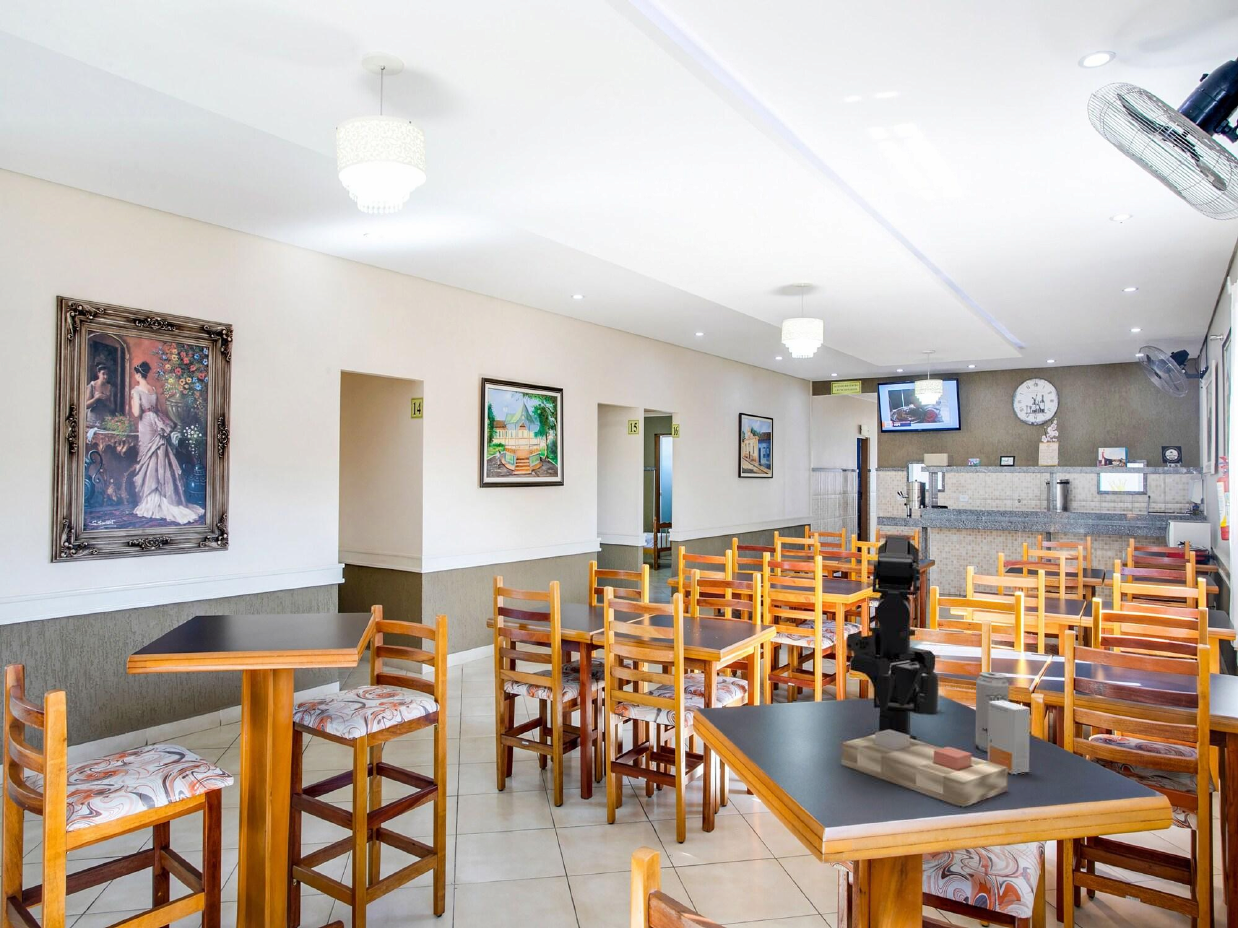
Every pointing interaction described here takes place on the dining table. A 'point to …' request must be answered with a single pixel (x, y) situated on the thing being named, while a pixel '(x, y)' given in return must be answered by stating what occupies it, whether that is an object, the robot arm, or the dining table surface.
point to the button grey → (892, 740)
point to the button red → (952, 758)
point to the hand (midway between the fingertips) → (892, 707)
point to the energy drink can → (986, 691)
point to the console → (926, 771)
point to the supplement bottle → (928, 690)
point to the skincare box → (1009, 735)
